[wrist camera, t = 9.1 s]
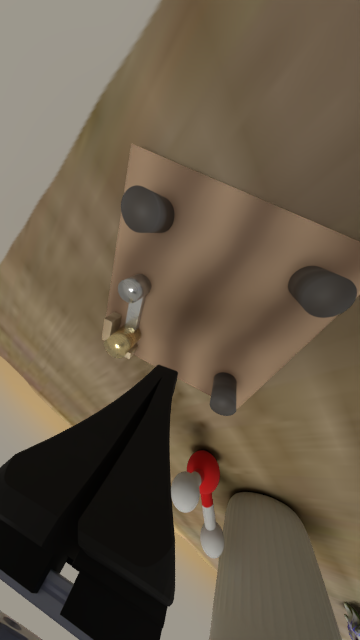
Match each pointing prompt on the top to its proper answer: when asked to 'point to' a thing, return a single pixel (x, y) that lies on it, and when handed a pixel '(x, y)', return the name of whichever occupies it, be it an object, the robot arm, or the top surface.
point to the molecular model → (186, 495)
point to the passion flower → (352, 622)
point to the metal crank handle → (129, 315)
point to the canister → (268, 576)
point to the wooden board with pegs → (223, 278)
